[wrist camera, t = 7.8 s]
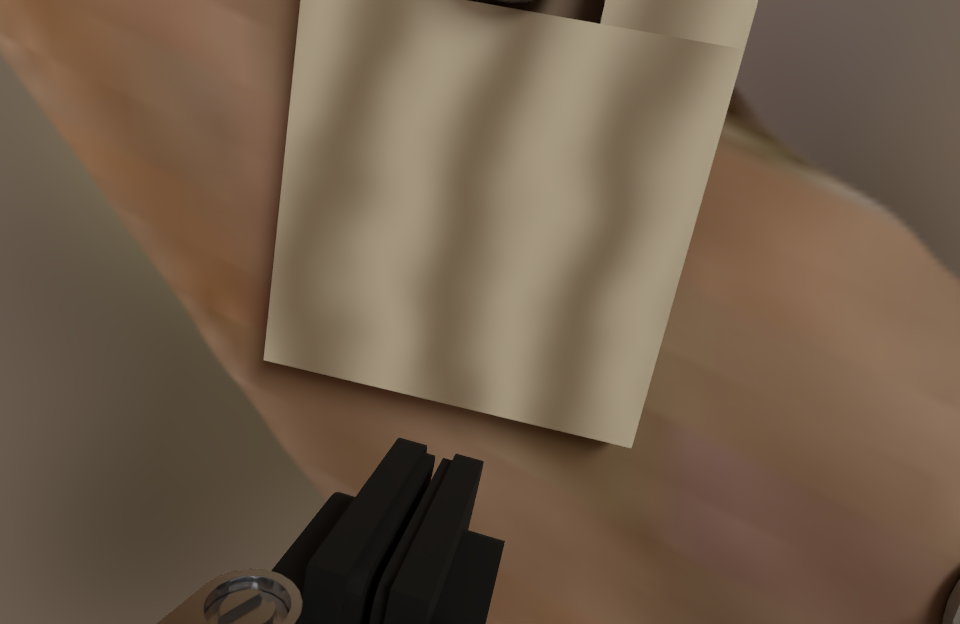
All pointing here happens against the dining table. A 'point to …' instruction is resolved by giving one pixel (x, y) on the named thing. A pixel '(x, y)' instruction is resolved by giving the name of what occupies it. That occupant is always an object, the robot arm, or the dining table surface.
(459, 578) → the robot arm
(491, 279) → the runway board
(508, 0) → the ball
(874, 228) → the dining table surface
